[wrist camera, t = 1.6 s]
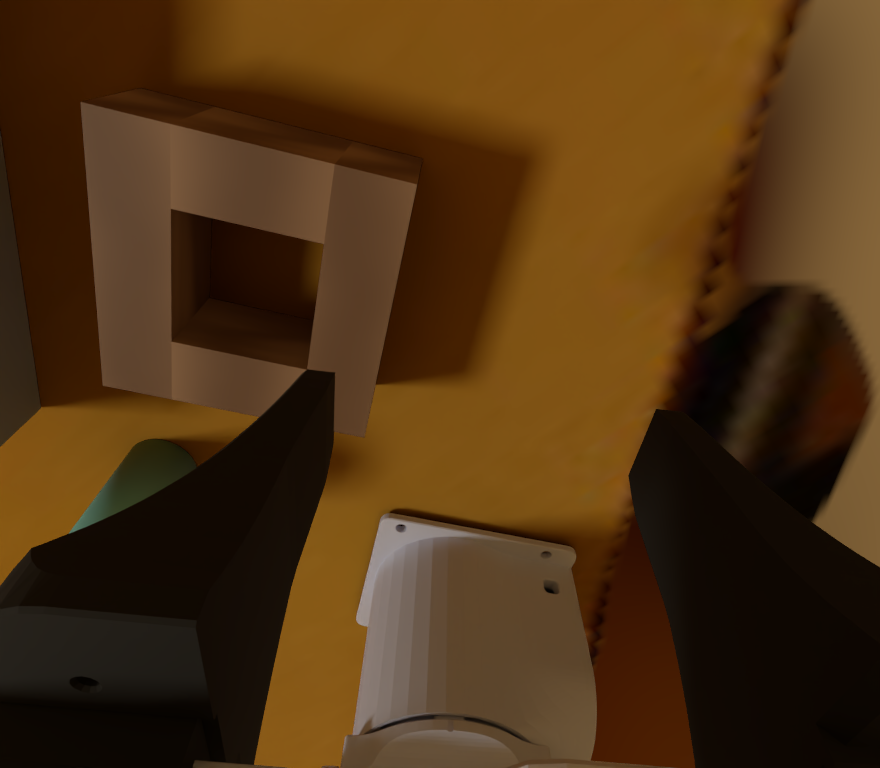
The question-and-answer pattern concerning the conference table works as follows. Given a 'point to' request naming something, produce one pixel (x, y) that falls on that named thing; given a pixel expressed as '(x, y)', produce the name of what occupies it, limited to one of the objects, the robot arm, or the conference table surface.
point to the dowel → (138, 478)
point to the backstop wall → (13, 327)
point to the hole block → (249, 204)
